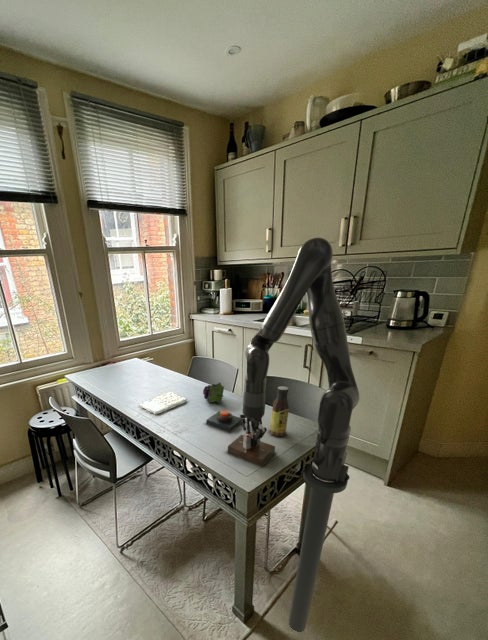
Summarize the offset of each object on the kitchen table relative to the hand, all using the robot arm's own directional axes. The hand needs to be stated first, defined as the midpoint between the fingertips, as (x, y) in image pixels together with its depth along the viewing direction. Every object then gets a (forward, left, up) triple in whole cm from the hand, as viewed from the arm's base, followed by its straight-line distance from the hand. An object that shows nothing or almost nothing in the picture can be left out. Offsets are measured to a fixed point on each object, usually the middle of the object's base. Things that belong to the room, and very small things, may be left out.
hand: (251, 444), depth 115 cm
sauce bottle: (-2, -19, -4) cm, 20 cm away
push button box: (+20, -13, -4) cm, 24 cm away
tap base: (0, 0, -4) cm, 4 cm away
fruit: (+37, -29, -4) cm, 47 cm away
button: (+20, -13, 0) cm, 24 cm away
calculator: (+55, -12, -4) cm, 56 cm away
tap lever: (0, 0, -1) cm, 1 cm away
